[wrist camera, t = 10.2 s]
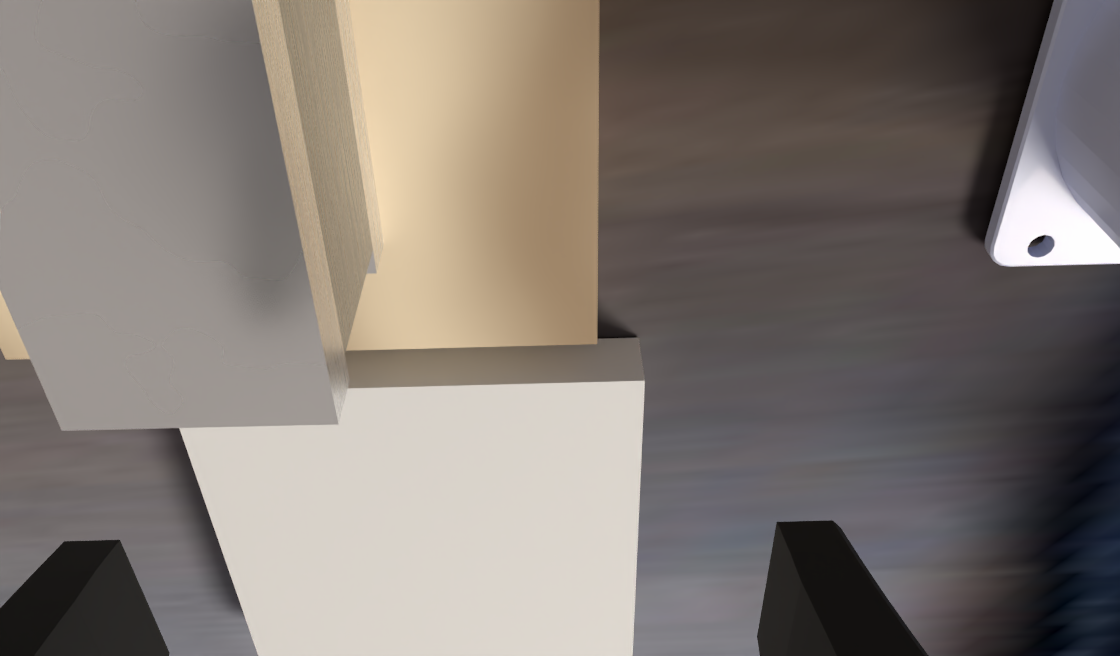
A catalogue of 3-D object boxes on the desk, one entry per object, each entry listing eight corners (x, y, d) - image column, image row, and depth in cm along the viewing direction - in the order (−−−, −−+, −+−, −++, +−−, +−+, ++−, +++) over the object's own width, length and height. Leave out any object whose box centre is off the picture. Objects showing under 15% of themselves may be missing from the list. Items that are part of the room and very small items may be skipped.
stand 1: (596, -398, 13) (602, -401, 12) (593, 301, 20) (597, 344, 19) (-260, -379, 13) (-340, -379, 12) (37, 316, 20) (5, 359, 19)
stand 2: (638, 337, 21) (644, 380, 20) (628, 617, 27) (631, 664, 26) (188, 349, 21) (166, 393, 20) (276, 627, 27) (264, 673, 26)
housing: (383, 244, 18) (338, 424, 14) (169, 248, 18) (61, 430, 14) (323, -175, 14) (233, -92, 10) (43, -169, 14) (-165, -84, 10)
